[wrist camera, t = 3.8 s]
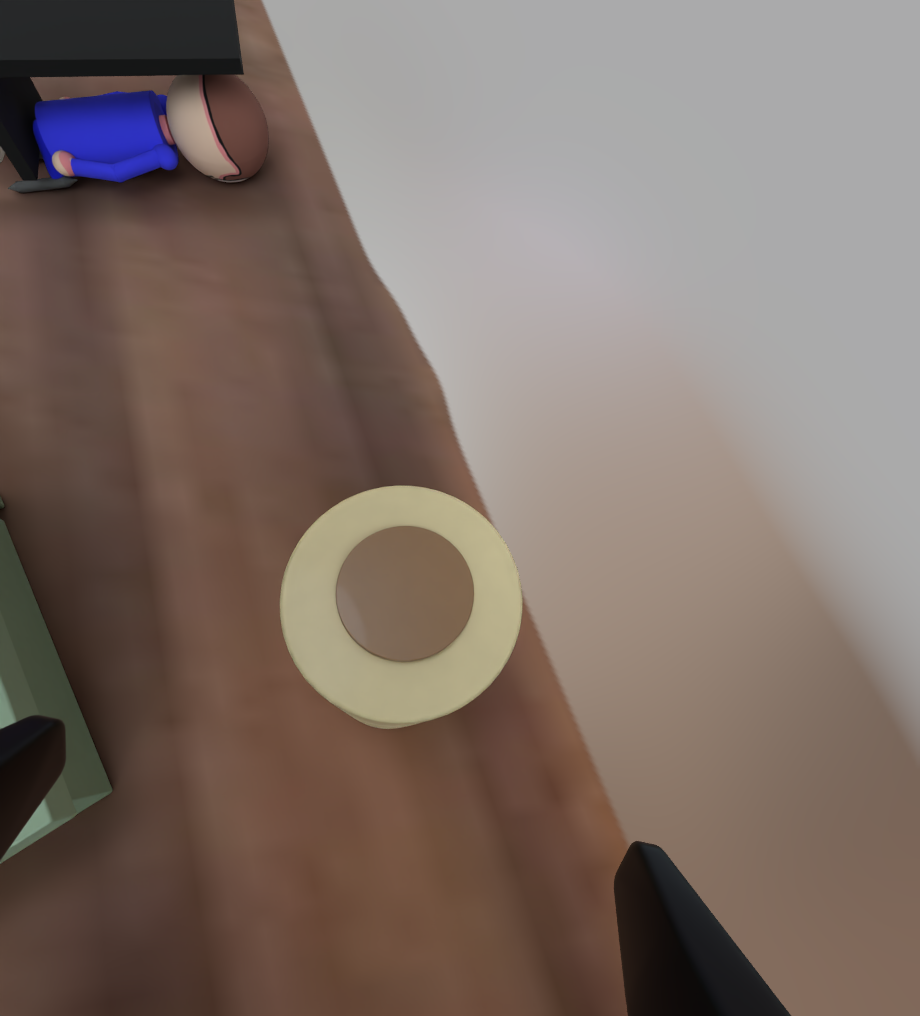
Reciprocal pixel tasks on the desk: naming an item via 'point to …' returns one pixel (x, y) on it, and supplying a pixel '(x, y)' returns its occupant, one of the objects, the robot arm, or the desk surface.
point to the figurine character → (126, 116)
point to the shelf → (42, 699)
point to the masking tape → (400, 605)
